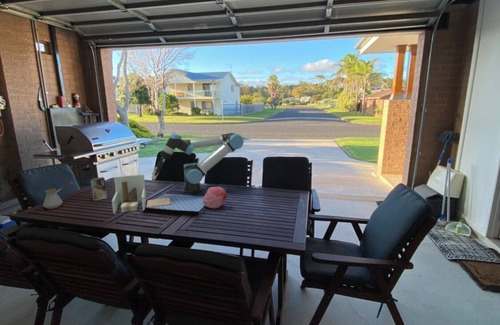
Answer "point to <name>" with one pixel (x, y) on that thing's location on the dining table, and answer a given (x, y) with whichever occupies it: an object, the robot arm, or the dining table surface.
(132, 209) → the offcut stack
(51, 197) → the coffee pot
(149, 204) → the tile
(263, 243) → the dining table surface
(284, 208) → the dining table surface
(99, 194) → the coffee box
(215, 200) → the decorative rock
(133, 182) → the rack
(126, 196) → the wooden block
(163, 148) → the robot arm
